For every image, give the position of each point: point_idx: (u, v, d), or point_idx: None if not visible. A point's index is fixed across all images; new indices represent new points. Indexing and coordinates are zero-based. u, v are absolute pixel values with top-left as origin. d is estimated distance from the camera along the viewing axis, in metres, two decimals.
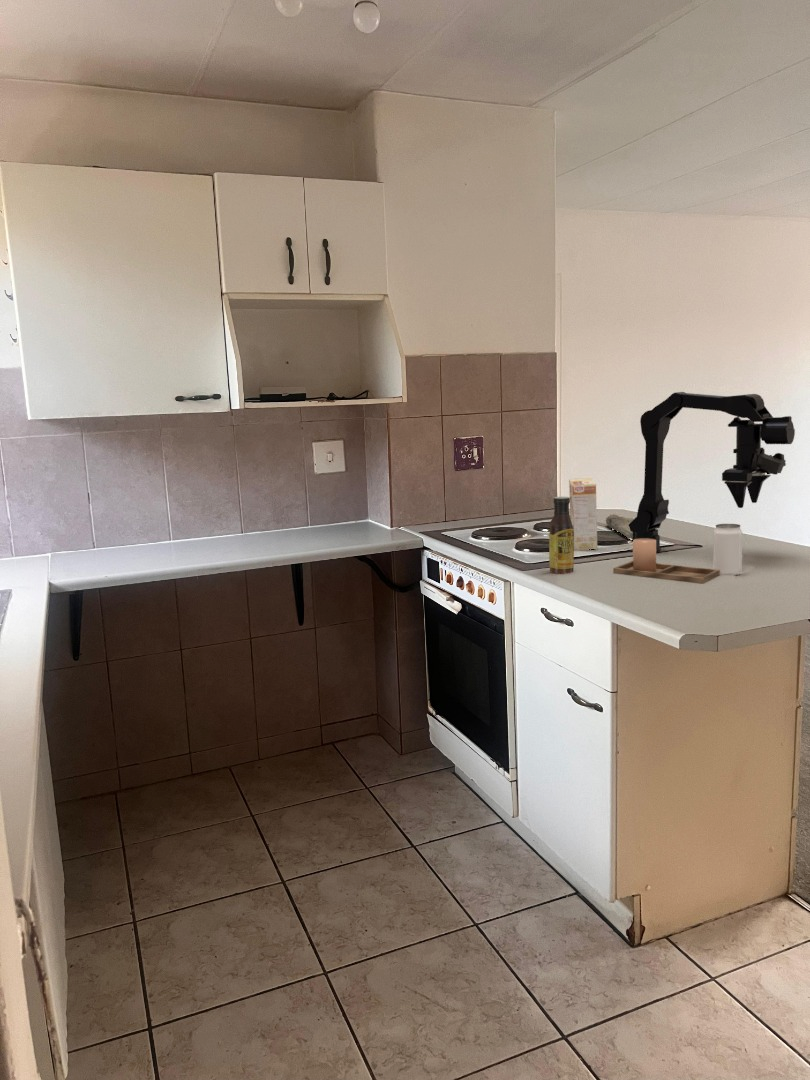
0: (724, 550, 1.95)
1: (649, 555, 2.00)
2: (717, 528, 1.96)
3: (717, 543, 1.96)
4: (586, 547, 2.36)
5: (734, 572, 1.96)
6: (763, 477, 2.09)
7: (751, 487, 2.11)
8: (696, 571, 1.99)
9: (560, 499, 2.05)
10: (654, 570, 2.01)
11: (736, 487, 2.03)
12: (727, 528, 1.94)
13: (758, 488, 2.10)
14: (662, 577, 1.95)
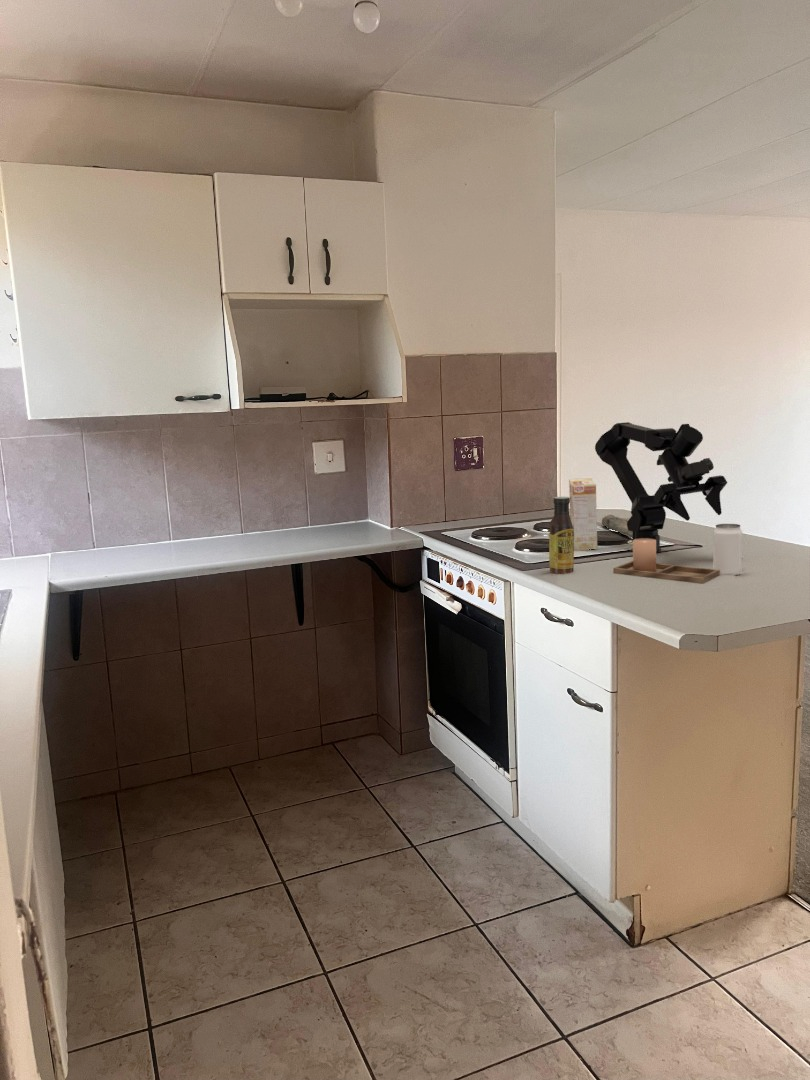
0: (724, 550, 1.95)
1: (649, 555, 2.00)
2: (717, 528, 1.96)
3: (717, 543, 1.96)
4: (586, 547, 2.36)
5: (734, 572, 1.96)
6: (713, 488, 2.07)
7: (712, 503, 2.08)
8: (696, 571, 1.99)
9: (560, 499, 2.05)
10: (654, 570, 2.01)
11: (674, 504, 2.06)
12: (727, 528, 1.94)
13: (715, 500, 2.07)
14: (662, 577, 1.95)
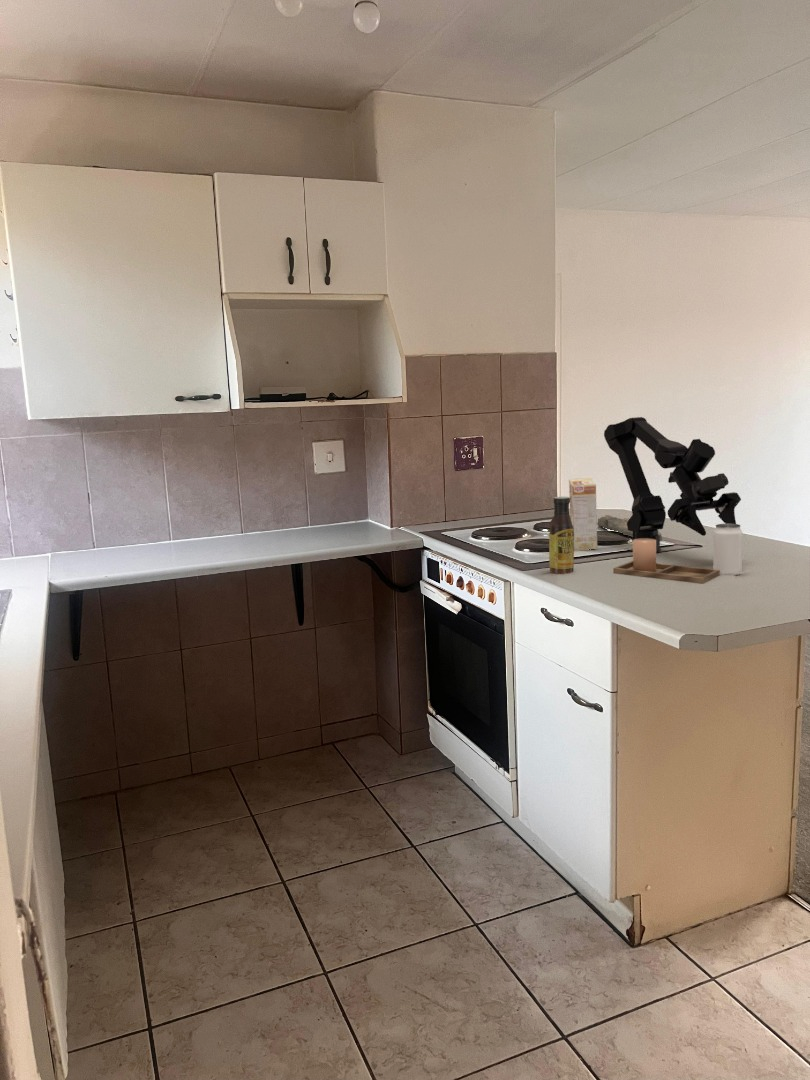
0: (724, 550, 1.95)
1: (649, 555, 2.00)
2: (717, 528, 1.96)
3: (717, 543, 1.96)
4: (586, 547, 2.36)
5: (734, 572, 1.96)
6: (728, 504, 2.03)
7: (727, 520, 2.04)
8: (696, 571, 1.99)
9: (560, 499, 2.05)
10: (654, 570, 2.01)
11: (689, 519, 2.01)
12: (727, 528, 1.94)
13: (730, 516, 2.02)
14: (662, 577, 1.95)
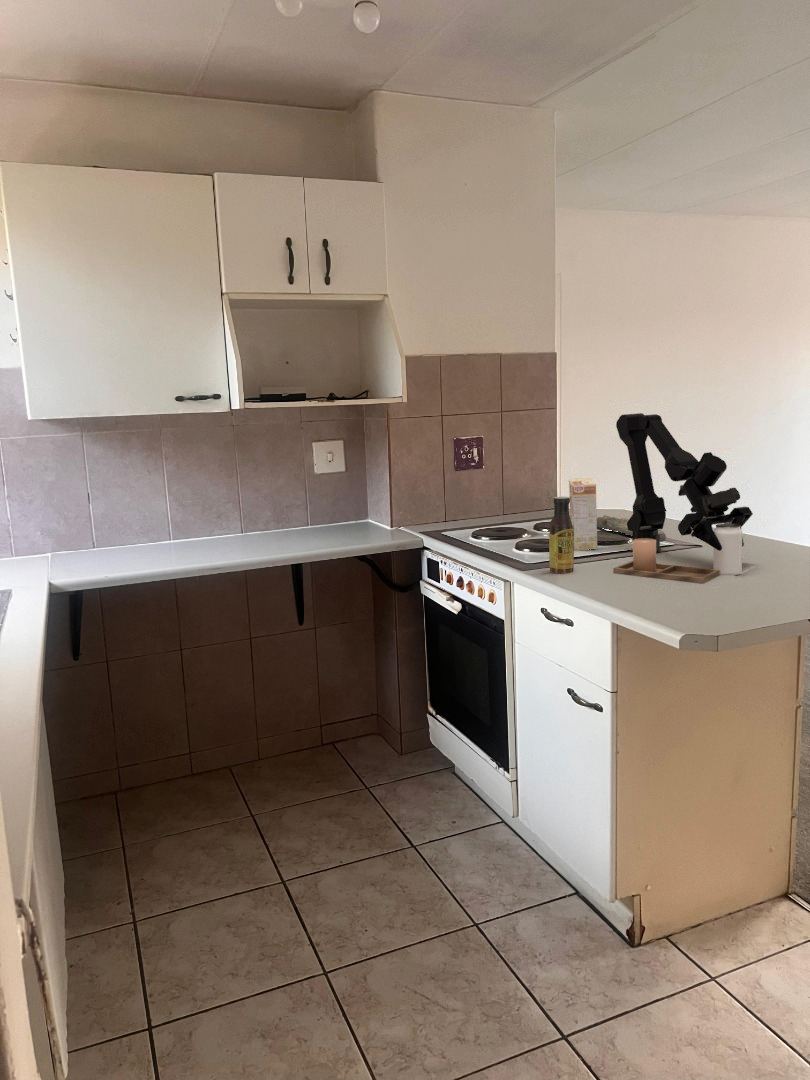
0: (724, 550, 1.95)
1: (649, 555, 2.00)
2: (717, 528, 1.96)
3: None
4: (586, 547, 2.36)
5: (734, 572, 1.96)
6: (734, 519, 1.99)
7: None
8: (696, 571, 1.99)
9: (560, 499, 2.05)
10: (654, 570, 2.01)
11: (705, 534, 1.98)
12: (727, 528, 1.94)
13: None
14: (662, 577, 1.95)
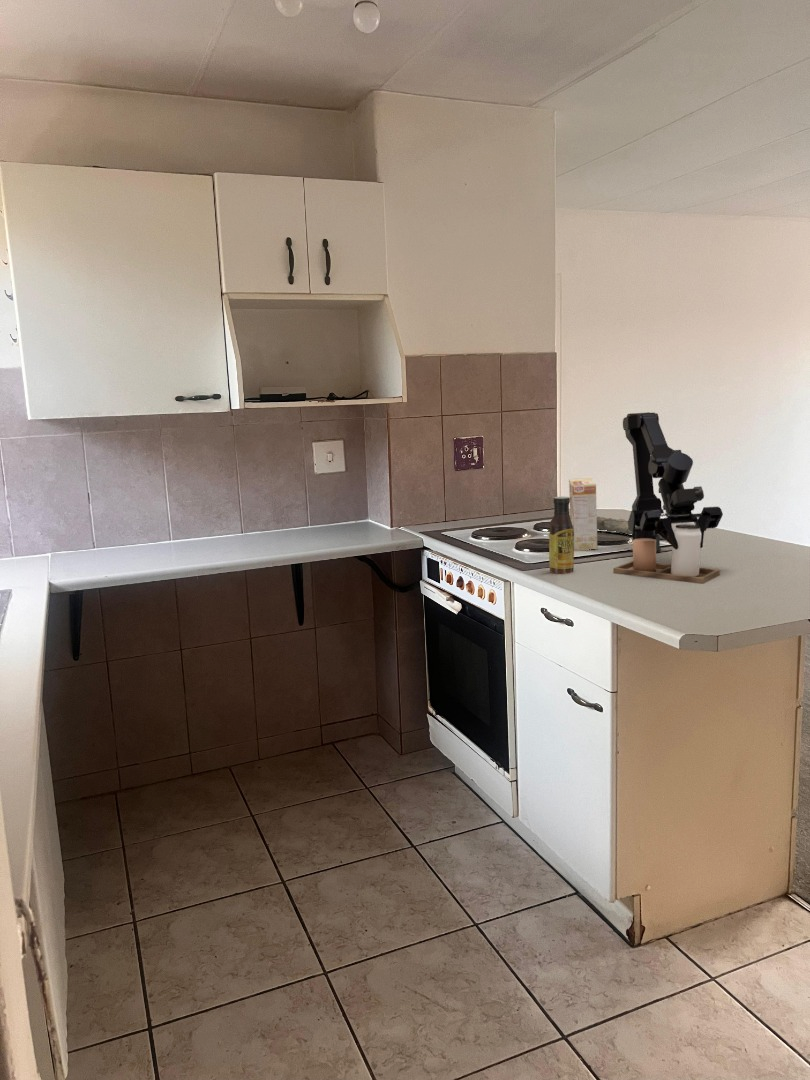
0: (679, 551, 1.93)
1: (649, 555, 2.00)
2: (676, 528, 1.95)
3: None
4: (586, 547, 2.36)
5: (688, 574, 1.94)
6: (698, 519, 1.95)
7: None
8: None
9: (560, 499, 2.05)
10: (654, 570, 2.01)
11: (666, 532, 1.97)
12: (683, 529, 1.92)
13: None
14: (662, 577, 1.95)
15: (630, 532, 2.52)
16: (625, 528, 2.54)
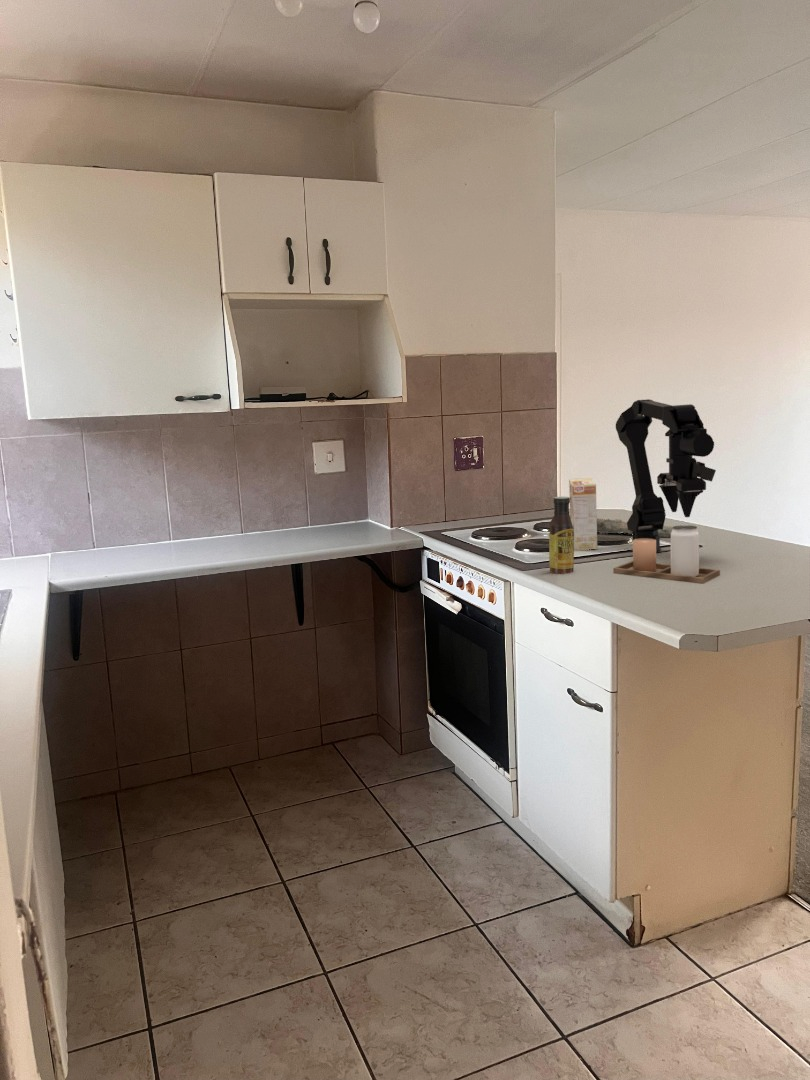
0: (677, 551, 1.94)
1: (649, 555, 2.00)
2: (673, 529, 1.95)
3: (671, 544, 1.95)
4: (586, 547, 2.36)
5: (687, 574, 1.94)
6: None
7: (670, 497, 2.14)
8: None
9: (560, 499, 2.05)
10: (654, 570, 2.01)
11: (686, 497, 2.04)
12: (680, 530, 1.93)
13: (677, 497, 2.14)
14: (662, 577, 1.95)
15: None
16: None
